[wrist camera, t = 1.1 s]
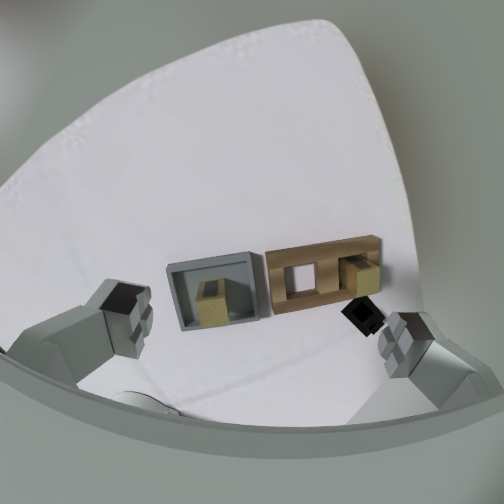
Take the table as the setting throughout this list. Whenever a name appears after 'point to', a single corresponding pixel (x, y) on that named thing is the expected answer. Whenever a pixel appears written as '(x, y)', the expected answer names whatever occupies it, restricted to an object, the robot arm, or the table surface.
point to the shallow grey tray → (227, 266)
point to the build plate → (364, 315)
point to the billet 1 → (212, 303)
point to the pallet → (316, 272)
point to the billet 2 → (359, 275)
